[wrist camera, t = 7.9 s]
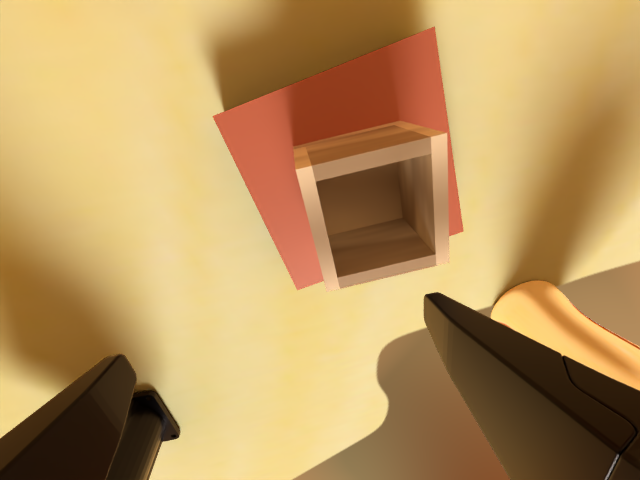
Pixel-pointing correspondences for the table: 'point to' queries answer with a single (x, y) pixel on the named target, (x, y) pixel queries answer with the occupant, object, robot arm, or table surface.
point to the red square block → (332, 134)
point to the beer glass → (567, 330)
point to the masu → (376, 201)
